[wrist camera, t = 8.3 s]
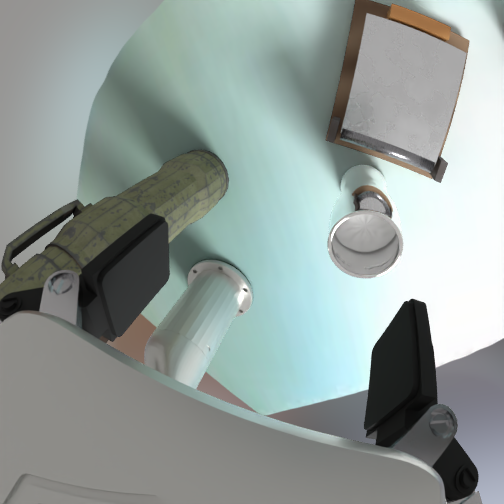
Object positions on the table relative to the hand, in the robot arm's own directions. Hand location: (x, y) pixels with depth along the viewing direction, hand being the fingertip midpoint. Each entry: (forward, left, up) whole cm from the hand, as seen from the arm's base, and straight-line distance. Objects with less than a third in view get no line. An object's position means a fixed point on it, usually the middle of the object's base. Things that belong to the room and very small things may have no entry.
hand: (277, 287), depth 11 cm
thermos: (-10, +17, -28) cm, 35 cm away
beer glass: (-5, -5, -28) cm, 29 cm away
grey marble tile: (+9, -6, -24) cm, 27 cm away
